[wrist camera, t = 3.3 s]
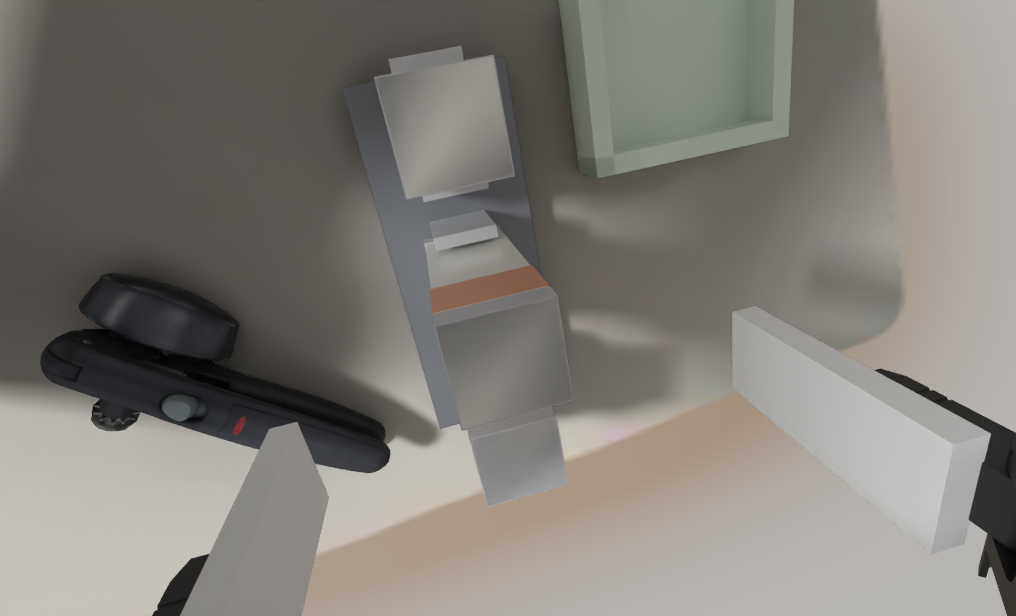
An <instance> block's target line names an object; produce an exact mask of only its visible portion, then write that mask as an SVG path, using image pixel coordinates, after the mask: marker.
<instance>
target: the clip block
mask: <svg viewBox="0 0 1016 616" xmlns="http://www.w3.org/2000/svg"><path fill="white" fill-rule="evenodd" d="M461 60H464V58H463V52H462V47H461V46H456V47H451V48H445V49H440V50H435V51H429V52H424V53H419V54H413V55H408V56H402V57H397V58H392V59H388V61H389V65H390V69H391V73H398V72H403V71H408V70H413V69H419V68H424V67H429V66H435V65H440V64H445V63H451V62H456V61H461ZM495 63H496V69H497V75H498V81H499V86H500V92H501V98H502V104H503V110H504V115H505V121H506V127H507V133H508V139H509V144H510V150H511V156H512V162H513V167H514V173H515V176H514V177H509V178H504V179H500V180H495V181H491V182H486V183H481V184H477V185H472V186H467V187H463V188H458V189H454V190H449V191H444V192H440V193H435V194H430V195H426V196H421V197H417V198H412V199H407V200H406V197H405V193H404V190H403V186H402V182H401V178H400V174H399V171H398V167H397V163H396V159H395V155H394V152H393V148H392V144H391V140H390V137H389V133H388V129H387V125H386V121H385V118H384V114H383V110H382V106H381V102H380V99H379V95H378V91H377V87H376V83H375V81H374V82H368V83H363V84H358V85H353V86H347V87H342V92H343V95H344V99H345V102H346V105H347V109H348V112H349V116H350V119H351V123H352V126H353V130H354V133H355V136H356V140H357V143H358V147H359V150H360V154H361V157H362V161H363V164H364V168H365V171H366V174H367V178H368V181H369V185H370V188H371V192H372V195H373V199H374V202H375V205H376V209H377V212H378V216H379V219H380V223H381V226H382V230H383V233H384V237H385V240H386V243H387V247H388V250H389V254H390V257H391V261H392V264H393V268H394V271H395V275H396V278H397V281H398V285H399V288H400V292H401V295H402V299H403V302H404V306H405V309H406V312H407V316H408V319H409V323H410V326H411V330H412V333H413V337H414V340H415V344H416V347H417V350H418V354H419V357H420V361H421V364H422V368H423V371H424V375H425V378H426V381H427V385H428V388H429V392H430V395H431V399H432V402H433V406H434V409H435V413H436V416H437V419H438V423H439V426H440V429H442V428H445V427H449V426H453V425H457V424H460V422H459V418H458V415H457V411H456V407H455V403H454V400H453V396H452V392H451V389H450V385H449V381H448V377H447V374H446V370H445V366H444V363H443V359H442V355H441V351H440V348H439V344H438V340H437V337H436V333H435V329H434V325H433V316H432V308H431V299H430V291H429V289H431V287H430V279H429V271H428V263H427V255H426V250H425V246H424V240H423V239H428V238H432V237H433V241H434V245H435V249H436V251H439V250H444V249H448V248H452V247H457V246H461V245H465V244H470V243H474V242H478V241H483V240H487V239H492V238H496V237H498V232H497V227H496V224H495V223H497V224H498V225H499V226H500V229H501V230H502V232H503V233H504V234H505V235H506V237H507V238H508V239H509V240H510V241H511V243H512V244H513V245H514V246H515V247H516V249H517V250H518V251H519V252H520V253H521V255H522V256H523V257H524V258H525V260H526V261H527V262H528V263H529V264H530V265H533V266H534V268H535V269H536V270H537V271H538V272H539V274H540V275H541V273H540V267H539V261H538V255H537V249H536V243H535V237H534V231H533V225H532V219H531V213H530V207H529V200H528V194H527V188H526V182H525V176H524V170H523V164H522V158H521V152H520V146H519V140H518V134H517V128H516V122H515V116H514V110H513V104H512V98H511V92H510V86H509V80H508V74H507V67H506V61H505V57H500V58H495Z"/></svg>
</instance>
